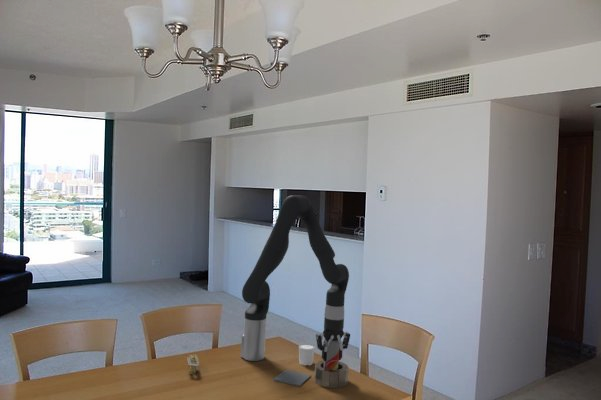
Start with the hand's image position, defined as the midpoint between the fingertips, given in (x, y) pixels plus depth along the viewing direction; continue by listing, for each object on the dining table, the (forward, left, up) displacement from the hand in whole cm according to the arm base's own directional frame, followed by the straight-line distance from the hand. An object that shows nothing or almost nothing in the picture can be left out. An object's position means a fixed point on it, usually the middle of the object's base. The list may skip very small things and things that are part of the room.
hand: (331, 359), depth 188 cm
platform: (-51, -19, -9) cm, 55 cm away
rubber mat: (-14, -5, -8) cm, 17 cm away
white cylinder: (-16, +13, -9) cm, 22 cm away
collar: (0, 0, -8) cm, 8 cm away
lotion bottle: (0, 0, -8) cm, 8 cm away
